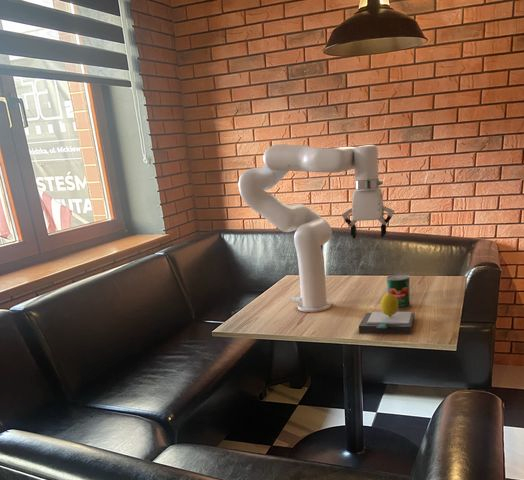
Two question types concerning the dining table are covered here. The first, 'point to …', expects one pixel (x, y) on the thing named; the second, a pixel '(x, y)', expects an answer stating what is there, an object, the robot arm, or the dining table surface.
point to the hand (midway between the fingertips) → (368, 237)
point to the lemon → (389, 304)
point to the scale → (387, 323)
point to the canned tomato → (399, 289)
